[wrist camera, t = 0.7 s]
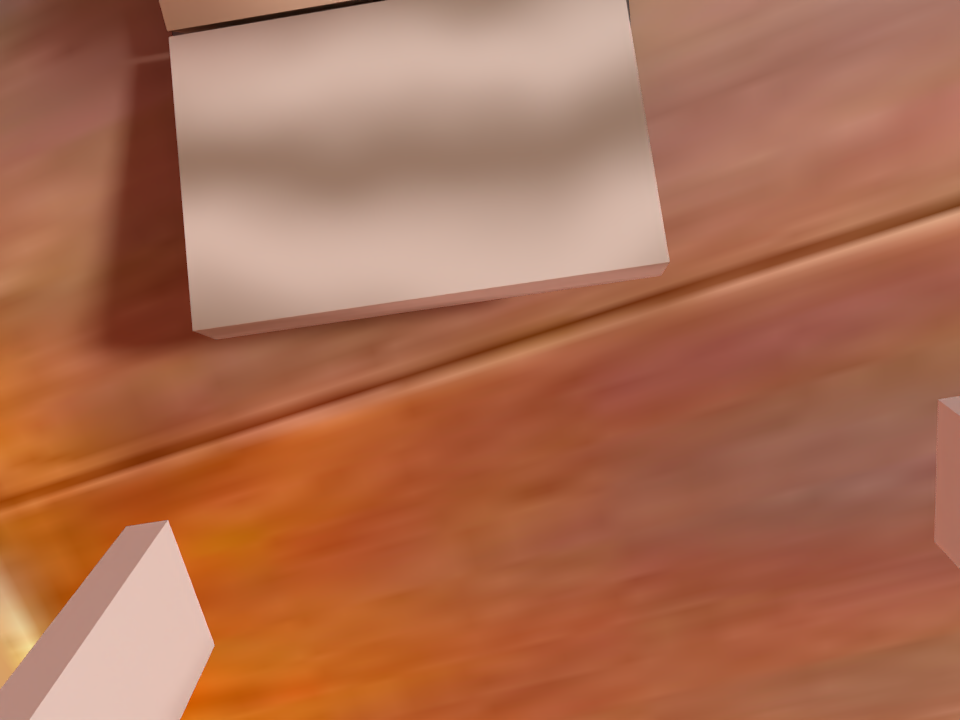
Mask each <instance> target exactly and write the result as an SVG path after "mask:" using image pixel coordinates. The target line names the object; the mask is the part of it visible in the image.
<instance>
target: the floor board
mask: <svg viewBox="0 0 960 720" xmlns="http://www.w3.org/2000/svg"><path fill="white" fill-rule="evenodd" d="M379 1H385V0H159V3H160V7H161V10H162V14H163V18H164V22H165V25H166V29H167V31H170V32H172V35H173V36H177V35H183V34H189V33H195V32H201V31H207V30H213V29H219V28H225V27H231V26H237V25H243V24H249V23H255V22H260V21H266V20H272V19H278V18H284V17H290V16H296V15H302V14H308V13H314V12H320V11H326V10H332V9H338V8H344V7H350V6H356V5H362V4H368V3H373V2H379ZM626 3H627V9H628V15H629V21H630V11H629V0H626ZM630 27H631V24H630Z"/></svg>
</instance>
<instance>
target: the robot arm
mask: <svg viewBox="0 0 960 720" xmlns="http://www.w3.org/2000/svg"><path fill="white" fill-rule="evenodd" d="M934 542H935V543H936V544H937V545H938V546H939V547H940V548H941V549H942V550H943V552H944V553H945V554H946V555H947V556H948V557H949V558H950V559H951V560H952V561H953V562H954V563H955V564H956V566H957V567H958V568H959V569H960V396H958V397H952V398H945V399H939V400H938V426H937V463H936V501H935V539H934ZM214 646H215V645H214V642H213V640H212V637H211V634H210V632H209V629H208V626H207V624H206V621H205V618H204V616H203V613H202V610H201V607H200V605H199V602H198V599H197V597H196V594H195V591H194V589H193V586H192V583H191V581H190V578H189V575H188V572H187V570H186V567H185V564H184V562H183V559H182V556H181V554H180V551H179V548H178V546H177V543H176V540H175V537H174V535H173V532H172V529H171V527H170V524H169V521H168V520H164V521H158V522H152V523H145V524H139V525H132V526H126V527H125V529H124V530H123V531H122V533H121V534H120V535H119V536H118V538H117V539H116V540H115V542H114V543H113V544H112V546H111V547H110V548H109V549H108V551H107V552H106V553H105V555H104V556H103V557H102V558H101V560H100V561H99V562H98V564H97V565H96V566H95V568H94V569H93V570H92V571H91V573H90V574H89V575H88V577H87V578H86V579H85V580H84V582H83V583H82V584H81V586H80V587H79V588H78V590H77V591H76V592H75V593H74V595H73V596H72V597H71V599H70V600H69V601H68V602H67V604H66V605H65V606H64V608H63V609H62V610H61V612H60V613H59V614H58V615H57V617H56V618H55V619H54V621H53V622H52V623H51V624H50V626H49V627H48V628H47V630H46V631H45V632H44V633H43V635H42V636H41V637H40V639H39V640H38V641H37V643H36V644H35V645H34V646H33V648H32V649H31V650H30V652H29V653H28V654H27V655H26V657H25V658H24V659H23V661H22V662H21V663H20V665H19V666H18V667H17V668H16V670H15V671H14V672H13V674H12V675H11V676H10V678H9V679H8V680H7V681H6V683H5V684H4V685H3V687H2V688H1V689H0V720H180V719H181V716H182V714H183V712H184V710H185V708H186V706H187V704H188V701H189V699H190V697H191V695H192V693H193V691H194V689H195V686H196V684H197V682H198V680H199V678H200V676H201V673H202V671H203V669H204V667H205V665H206V663H207V661H208V658H209V656H210V654H211V652H212V650H213V648H214Z"/></svg>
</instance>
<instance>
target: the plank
mask: <svg viewBox="0 0 960 720" xmlns="http://www.w3.org/2000/svg"><path fill="white" fill-rule="evenodd" d="M169 47H170V59H171V72H172V84H173V96H174V108H175V121H176V133H177V145H178V158H179V170H180V182H181V194H182V207H183V219H184V231H185V243H186V256H187V268H188V280H189V293H190V305H191V317H192V329H193V331H194V332H197V333H199V334H202V335H205V336H208V337H210V338H213V339H216V340H217V339H224V338H231V337H237V336H244V335H251V334H258V333H265V332H272V331H279V330H286V329H293V328H300V327H307V326H314V325H321V324H328V323H335V322H342V321H349V320H356V319H363V318H370V317H377V316H384V315H391V314H398V313H404V312H411V311H418V310H425V309H432V308H439V307H446V306H453V305H460V304H467V303H474V302H481V301H488V300H495V299H502V298H509V297H516V296H523V295H530V294H537V293H544V292H551V291H558V290H564V289H571V288H578V287H585V286H592V285H599V284H606V283H613V282H620V281H627V280H634V279H641V278H648V277H655V276H661V275H662V273H663V272H664V270H665V268H666V267H667V265H668V264H669V262H670V261H669V255H668V249H667V243H666V237H665V231H664V225H663V219H662V213H661V207H660V201H659V195H658V189H657V183H656V177H655V171H654V165H653V159H652V153H651V147H650V141H649V135H648V129H647V123H646V117H645V111H644V105H643V99H642V93H641V87H640V81H639V75H638V69H637V63H636V57H635V51H634V45H633V39H632V33H631V27H630V21H629V15H628V9H627V3H626V0H385V1H379V2H373V3H368V4H362V5H356V6H350V7H344V8H338V9H332V10H326V11H320V12H314V13H308V14H302V15H296V16H290V17H284V18H278V19H272V20H266V21H260V22H255V23H249V24H243V25H237V26H231V27H225V28H219V29H213V30H207V31H201V32H195V33H189V34H183V35H177V36H171V37H169Z"/></svg>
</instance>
